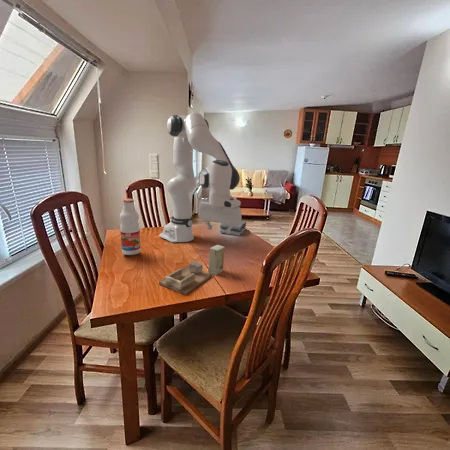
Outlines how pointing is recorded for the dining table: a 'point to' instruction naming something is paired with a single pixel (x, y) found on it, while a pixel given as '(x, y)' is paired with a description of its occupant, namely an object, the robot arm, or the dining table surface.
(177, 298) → the dining table surface
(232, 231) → the towel
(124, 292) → the dining table surface
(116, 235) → the dining table surface
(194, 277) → the base
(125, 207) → the fruit juice
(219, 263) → the skincare box
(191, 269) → the block
